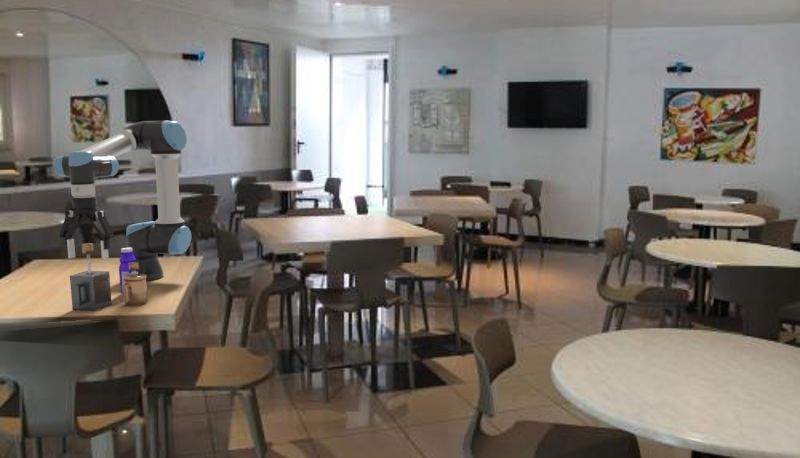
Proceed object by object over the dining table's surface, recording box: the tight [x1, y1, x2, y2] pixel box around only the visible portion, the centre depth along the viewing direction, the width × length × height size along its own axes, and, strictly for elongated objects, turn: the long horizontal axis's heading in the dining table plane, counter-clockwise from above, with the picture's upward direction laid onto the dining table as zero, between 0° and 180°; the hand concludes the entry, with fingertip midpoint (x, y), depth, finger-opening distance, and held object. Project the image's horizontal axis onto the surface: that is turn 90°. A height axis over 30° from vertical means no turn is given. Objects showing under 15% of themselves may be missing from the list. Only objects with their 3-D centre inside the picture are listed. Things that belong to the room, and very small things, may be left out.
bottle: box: [118, 247, 138, 295], centre depth 266 cm, size 7×6×17 cm
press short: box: [122, 262, 148, 307], centre depth 250 cm, size 11×8×15 cm
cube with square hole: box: [69, 270, 113, 312], centre depth 244 cm, size 12×9×12 cm
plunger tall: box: [81, 242, 94, 274], centre depth 245 cm, size 7×7×19 cm
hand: (88, 258), depth 244 cm, fingers open, 12 cm apart
